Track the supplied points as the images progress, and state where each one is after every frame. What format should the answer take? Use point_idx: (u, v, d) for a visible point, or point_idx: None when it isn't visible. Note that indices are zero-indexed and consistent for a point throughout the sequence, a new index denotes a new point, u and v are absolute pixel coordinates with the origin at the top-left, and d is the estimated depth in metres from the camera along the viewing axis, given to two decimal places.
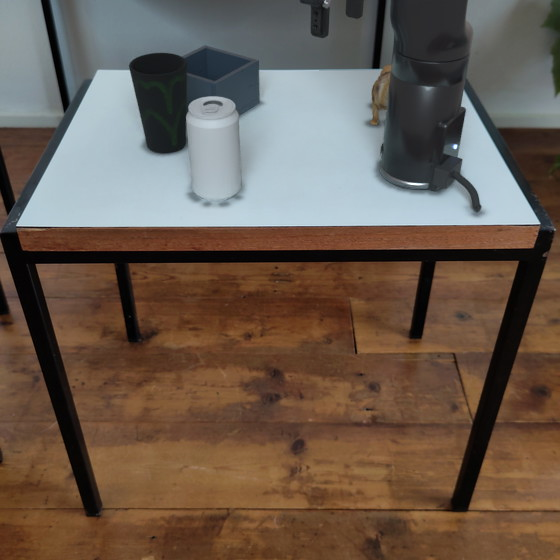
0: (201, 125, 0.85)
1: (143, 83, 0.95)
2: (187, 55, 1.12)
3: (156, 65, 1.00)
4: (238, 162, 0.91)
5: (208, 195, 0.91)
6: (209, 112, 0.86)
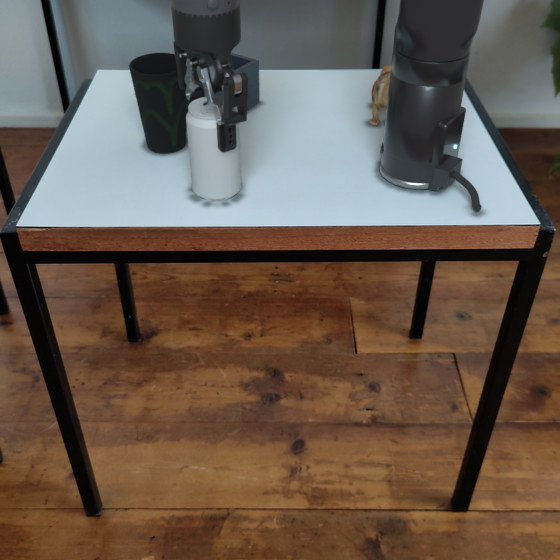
0: (201, 125, 0.85)
1: (143, 83, 0.95)
2: None
3: (156, 65, 1.00)
4: (238, 162, 0.91)
5: (208, 195, 0.91)
6: (209, 112, 0.86)
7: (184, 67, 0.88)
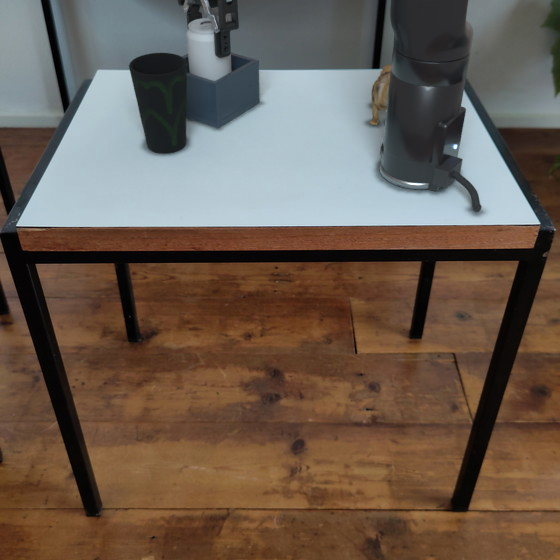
0: (198, 39, 1.04)
1: (143, 83, 0.95)
2: (187, 55, 1.12)
3: (156, 65, 1.00)
4: None
5: None
6: (205, 28, 1.05)
7: None
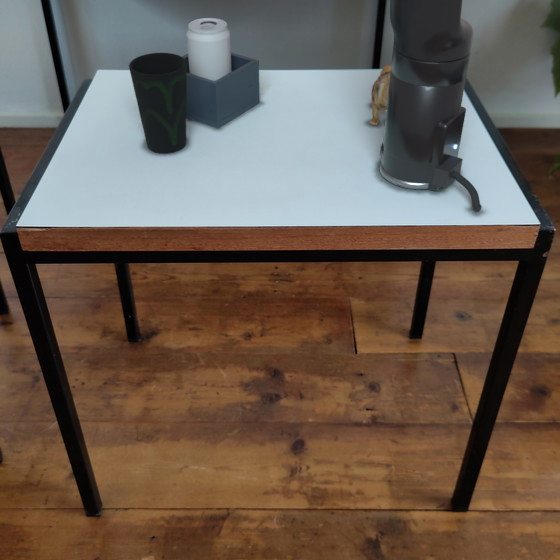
0: (198, 39, 1.04)
1: (143, 83, 0.95)
2: (187, 55, 1.12)
3: (156, 65, 1.00)
4: None
5: None
6: (205, 28, 1.05)
7: None
